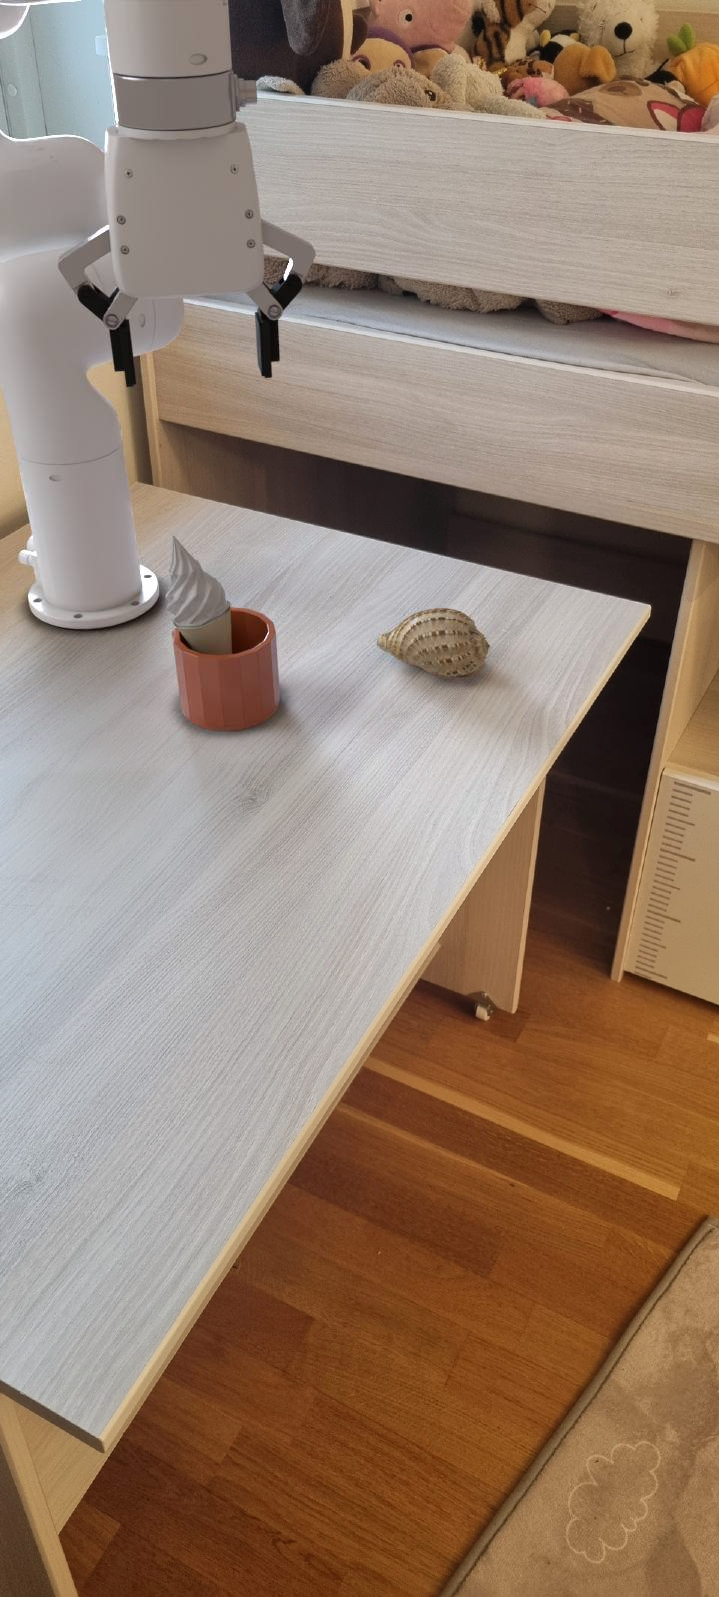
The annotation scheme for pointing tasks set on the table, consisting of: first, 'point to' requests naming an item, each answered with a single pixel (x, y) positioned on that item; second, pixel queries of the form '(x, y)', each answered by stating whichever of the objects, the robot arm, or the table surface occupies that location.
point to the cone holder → (231, 676)
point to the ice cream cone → (198, 605)
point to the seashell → (438, 643)
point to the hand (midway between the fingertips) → (198, 375)
